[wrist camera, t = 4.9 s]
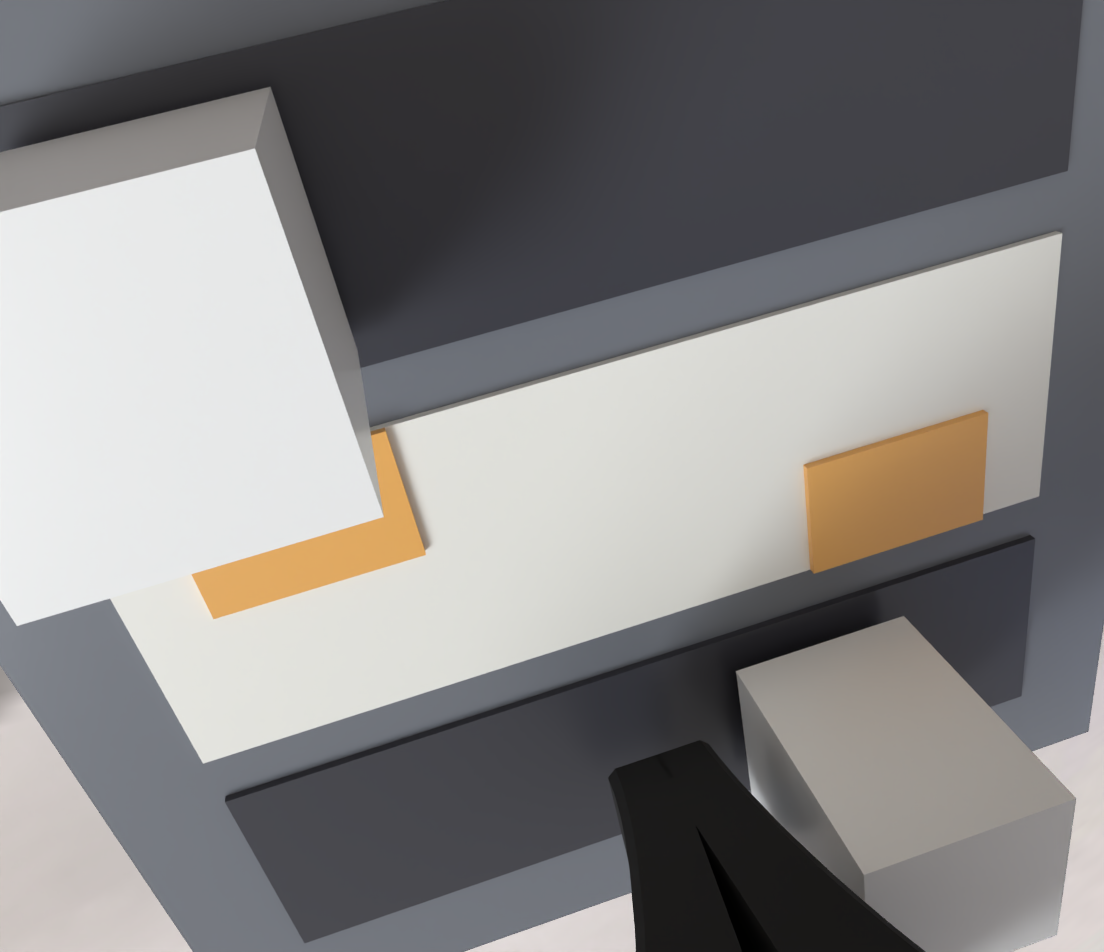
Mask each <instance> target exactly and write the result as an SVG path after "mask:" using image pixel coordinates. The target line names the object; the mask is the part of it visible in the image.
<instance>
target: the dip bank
mask: <svg viewBox="0 0 1104 952" xmlns="http://www.w3.org/2000/svg"><path fill="white" fill-rule="evenodd" d="M267 87H271V90H272V93H273V96H274V99H275V102H276V105H277V108H278V111H279V114H280V117H281V120H282V123H283V126H284V129H285V132H286V135H287V138H288V141H289V144H290V147H291V150H292V153H293V156H294V159H295V162H296V165H297V168H298V171H299V175H300V178H301V181H302V184H303V187H304V190H305V193H306V196H307V199H308V202H309V205H310V208H311V211H312V214H313V217H314V220H315V223H316V226H317V229H318V232H319V235H320V238H321V241H322V244H323V247H324V250H325V253H326V256H327V259H328V262H329V265H330V268H331V271H332V274H333V277H334V280H335V284H336V287H337V290H338V293H339V296H340V299H341V302H342V305H343V308H344V311H345V314H346V317H347V320H348V323H349V326H350V329H351V332H352V335H353V338H354V341H355V344H356V347H357V350H358V356H359V363H360V369H361V376H362V382H363V388H364V395H365V401H366V407H367V414H368V420H369V426H370V433H371V439H372V445H373V452H374V458H375V464H376V471H377V477H378V484H379V490H380V496H381V503H382V509H383V515H384V517H382V518H379V519H376V520H372V521H369V522H365V523H362V524H359V525H355V526H352V527H349V528H345V529H342V530H339V531H335V532H332V533H328V534H325V535H322V536H318V537H315V538H312V539H308V540H305V541H302V542H298V543H295V544H291V545H288V546H285V547H281V548H278V549H275V550H271V551H268V552H265V553H261V554H258V555H254V556H251V557H248V558H244V559H241V560H238V561H234V562H231V563H228V564H224V565H221V566H217V567H214V568H211V569H207V570H204V571H201V572H197V573H194V574H191V575H187V576H184V577H180V578H177V579H174V580H170V581H167V582H164V583H160V584H157V585H154V586H150V587H147V588H143V589H140V590H137V591H133V592H130V593H127V594H123V595H120V596H117V597H113V598H110V599H106V600H103V601H100V602H96V603H93V604H90V605H86V606H83V607H80V608H76V609H73V610H69V611H66V612H63V613H59V614H56V615H53V616H49V617H46V618H43V619H39V620H36V621H32V622H29V623H26V624H22V625H19V626H16V624H15V622H14V621H13V619H12V618H11V616H10V615H9V613H8V612H7V610H6V608H5V607H4V605H3V604H2V602H1V601H0V666H1V667H2V669H3V670H4V671H5V673H6V675H7V676H8V678H9V679H10V681H11V682H12V684H13V685H14V687H15V688H16V690H17V691H18V693H19V694H20V696H21V697H22V699H23V700H24V701H25V703H26V704H27V706H28V707H29V709H30V710H31V712H32V713H33V715H34V716H35V718H36V719H37V721H38V722H39V724H40V725H41V727H42V728H43V730H44V731H45V733H46V734H47V736H48V737H49V739H50V740H51V742H52V743H53V745H54V746H55V747H56V749H57V750H58V752H59V753H60V755H61V756H62V758H63V759H64V761H65V762H66V764H67V765H68V767H69V768H70V770H71V771H72V773H73V774H74V776H75V777H76V779H77V780H78V782H79V783H80V785H81V786H82V788H83V789H84V791H85V792H86V794H87V795H88V796H89V798H90V799H91V801H92V802H93V804H94V805H95V807H96V808H97V810H98V811H99V813H100V814H101V816H102V817H103V819H104V820H105V822H106V823H107V825H108V826H109V828H110V829H111V831H112V832H113V834H114V835H115V837H116V838H117V840H118V841H119V842H120V844H121V845H122V847H123V848H124V850H125V851H126V853H127V854H128V856H129V857H130V859H131V860H132V862H133V863H134V865H135V866H136V868H137V869H138V871H139V872H140V874H141V875H142V877H143V878H144V880H145V881H146V883H147V884H148V886H149V887H150V888H151V890H152V891H153V893H154V894H155V896H156V897H157V899H158V900H159V902H160V903H161V905H162V906H163V908H164V909H165V911H166V912H167V914H168V915H169V917H170V918H171V920H172V921H173V923H174V924H175V926H176V927H177V929H178V930H179V932H180V933H181V934H182V936H183V937H184V939H185V940H186V942H187V943H188V945H189V946H190V948H191V949H192V951H193V952H464V951H467V950H470V949H473V948H475V947H478V946H481V945H484V944H487V943H490V942H493V941H495V940H498V939H501V938H504V937H507V936H510V935H512V934H515V933H518V932H521V931H524V930H527V929H529V928H532V927H535V926H538V925H541V924H544V923H546V922H549V921H552V920H555V919H558V918H561V917H563V916H566V915H569V914H572V913H575V912H578V911H580V910H583V909H586V908H589V907H592V906H595V905H598V904H600V903H603V902H606V901H609V900H612V899H615V898H617V897H620V896H623V895H626V894H629V893H632V890H631V879H630V870H629V863H628V857H627V853H626V849H625V845H624V841H623V837H622V833H621V829H620V825H619V821H618V817H617V812H616V808H615V804H614V800H613V796H612V792H611V788H610V784H609V780H608V777H609V776H610V775H611V773H612V772H613V771H614V769H615V768H618V767H621V766H624V765H627V764H630V763H633V762H636V761H639V760H642V759H645V758H648V757H651V756H654V755H657V754H660V753H663V752H666V751H669V750H672V749H675V748H678V747H681V746H684V745H687V744H690V743H693V742H696V741H699V740H701V741H703V742H705V743H708V744H709V745H710V746H711V747H712V749H713V750H714V751H715V753H716V754H717V755H718V756H719V757H720V759H721V760H722V761H723V762H724V763H725V765H726V766H727V767H728V768H729V769H730V771H731V772H732V773H733V774H734V775H735V776H736V777H737V778H738V780H739V781H740V782H741V783H742V784H743V785H744V786H745V787H746V788H747V790H748V791H749V792H750V793H751V786H750V778H749V770H748V762H747V754H746V747H745V739H744V731H743V723H742V715H741V707H740V699H739V691H738V683H737V676H736V671H738V670H741V669H744V668H747V667H750V666H753V665H756V664H759V663H762V662H765V661H768V660H771V659H774V658H777V657H780V656H783V655H786V654H789V653H792V652H795V651H799V650H802V649H805V648H808V647H811V646H814V645H817V644H820V643H823V642H826V641H829V640H832V639H835V638H838V637H841V636H844V635H847V634H850V633H853V632H856V631H859V630H862V629H865V628H868V627H871V626H874V625H877V624H880V623H883V622H887V621H890V620H893V619H896V618H899V617H902V616H904V617H905V618H906V619H907V620H908V621H909V622H910V623H911V624H912V625H913V626H914V627H915V628H916V629H917V630H918V631H919V633H920V634H921V635H922V636H923V637H924V638H925V639H926V640H927V641H928V642H929V643H930V644H931V645H932V646H933V647H934V648H935V649H936V651H937V652H938V653H939V654H940V655H941V656H942V657H943V658H944V659H945V660H946V661H947V662H948V663H949V664H950V665H951V666H952V667H953V669H954V670H955V671H956V672H957V673H958V674H959V675H960V676H961V677H962V678H963V679H964V680H965V681H966V682H967V683H968V684H969V685H970V687H971V688H972V689H973V690H974V691H975V692H976V693H977V694H978V695H979V696H980V697H981V698H982V699H983V700H984V701H985V702H986V703H987V705H988V706H989V707H990V708H991V709H992V710H993V711H994V712H995V713H996V714H997V715H998V716H999V717H1000V718H1001V719H1002V720H1003V721H1004V723H1005V724H1006V725H1007V726H1008V727H1009V728H1010V729H1011V730H1012V731H1013V732H1014V733H1015V734H1016V735H1017V736H1018V737H1019V738H1020V739H1021V741H1022V742H1023V743H1024V744H1025V745H1026V746H1027V747H1028V748H1029V749H1030V750H1031V751H1035V750H1037V749H1040V748H1043V747H1046V746H1049V745H1052V744H1054V743H1057V742H1060V741H1063V740H1066V739H1069V738H1071V737H1074V736H1077V735H1080V734H1083V733H1086V732H1088V730H1089V723H1090V716H1091V709H1092V702H1093V695H1094V688H1095V681H1096V674H1097V667H1098V660H1099V653H1100V646H1101V639H1102V632H1103V625H1104V0H0V152H3V151H8V150H12V149H16V148H20V147H24V146H28V145H32V144H36V143H41V142H45V141H49V140H53V139H57V138H61V137H65V136H69V135H73V134H78V133H82V132H86V131H90V130H94V129H98V128H102V127H106V126H111V125H115V124H119V123H123V122H127V121H131V120H135V119H139V118H143V117H148V116H152V115H156V114H160V113H164V112H168V111H172V110H176V109H181V108H185V107H189V106H193V105H197V104H201V103H205V102H209V101H213V100H218V99H222V98H226V97H230V96H234V95H238V94H242V93H246V92H251V91H255V90H259V89H263V88H267Z"/></svg>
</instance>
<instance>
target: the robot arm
mask: <svg viewBox="0 0 1104 952" xmlns="http://www.w3.org/2000/svg"><path fill="white" fill-rule="evenodd" d="M608 780H609V784H610V788H611V792H612V796H613V800H614V804H615V808H616V812H617V817H618V821H619V825H620V829H621V833H622V837H623V841H624V845H625V849H626V853H627V857H628V863H629V870H630V879H631V890H632V901H633V912H634V923H635V939H636V952H926V951H924V950H923V949H922V948H920V947H919V946H918V945H917V944H915V943H914V942H913V941H912V940H910V939H909V938H908V937H907V936H905V935H904V934H903V933H902V932H900V931H899V930H898V929H897V928H895V927H894V926H893V925H892V924H891V923H889V922H888V921H887V920H886V919H885V918H883V917H882V916H881V915H880V914H879V913H877V912H876V911H875V910H874V909H873V908H872V907H870V906H869V905H868V904H867V903H866V902H864V901H863V900H862V899H861V898H860V897H859V896H857V895H856V894H855V893H854V892H853V891H852V890H851V889H849V888H848V887H847V886H846V885H845V884H844V883H843V882H842V881H840V880H839V879H838V878H837V877H836V876H835V875H834V874H833V873H832V872H830V871H829V870H828V869H827V868H826V867H825V866H824V865H823V864H822V863H821V862H820V861H819V860H818V859H817V858H816V857H814V856H813V855H812V854H811V853H810V852H809V851H808V850H807V849H806V848H805V847H804V846H803V845H802V844H801V843H800V842H799V841H797V840H796V839H795V838H794V837H793V836H792V835H791V834H790V833H789V832H788V831H787V830H786V829H785V828H784V827H783V826H782V825H781V824H780V823H779V822H778V821H777V820H776V819H775V818H774V817H773V816H772V815H771V814H770V813H769V812H768V811H767V810H766V809H765V808H764V806H763V805H762V804H761V803H760V802H759V801H758V800H757V799H756V798H755V797H754V796H753V795H752V794H751V793H750V792H749V791H748V790H747V788H746V787H745V786H744V785H743V784H742V783H741V782H740V781H739V780H738V778H737V777H736V776H735V775H734V774H733V773H732V772H731V771H730V769H729V768H728V767H727V766H726V765H725V763H724V762H723V761H722V760H721V759H720V757H719V756H718V755H717V754H716V753H715V751H714V750H713V749H712V747H711V746H710V745H709V744H708V743H705V742H703V741H701V740H699V741H696V742H693V743H690V744H687V745H684V746H681V747H678V748H675V749H672V750H669V751H666V752H663V753H660V754H657V755H654V756H651V757H648V758H645V759H642V760H639V761H636V762H633V763H630V764H627V765H624V766H621V767H618V768H615V769H614V771H613V772H612V773H611V775H610V776H609V777H608Z"/></svg>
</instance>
